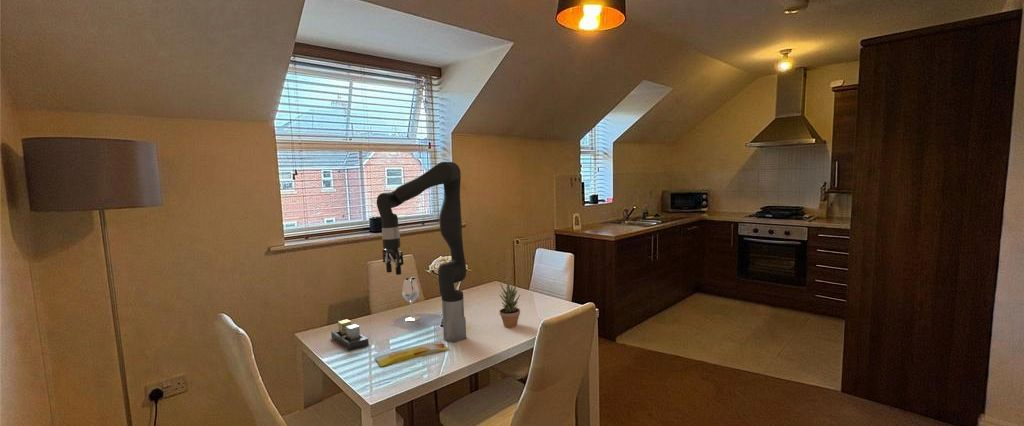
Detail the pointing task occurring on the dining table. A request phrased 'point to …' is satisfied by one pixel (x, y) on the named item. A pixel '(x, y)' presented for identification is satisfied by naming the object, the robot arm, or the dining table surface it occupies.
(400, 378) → the dining table surface
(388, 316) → the dining table surface
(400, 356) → the food package
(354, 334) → the light grey block
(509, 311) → the potted plant
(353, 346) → the dark grey tray
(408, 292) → the wineglass
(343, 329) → the tan rectangular block
